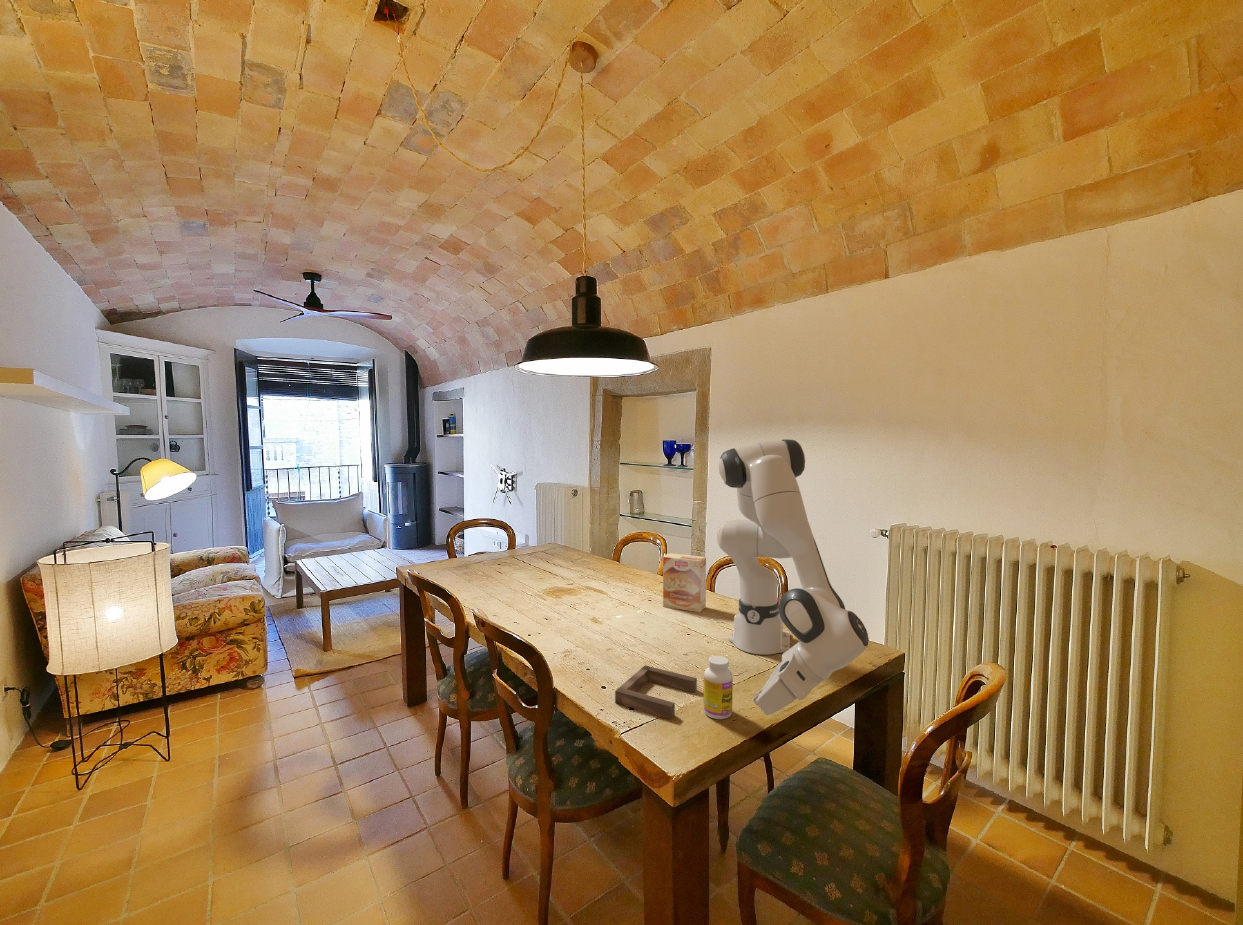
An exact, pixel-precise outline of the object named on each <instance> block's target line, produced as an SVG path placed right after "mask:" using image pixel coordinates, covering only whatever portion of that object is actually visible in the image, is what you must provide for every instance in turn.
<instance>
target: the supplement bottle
mask: <svg viewBox="0 0 1243 925" xmlns="http://www.w3.org/2000/svg"><path fill="white" fill-rule="evenodd" d="M729 663H730V661H729V659H728V658H727V657H725V656H721V655H713V656H709V657H708V664H707V665H708V667H707V668H706V669H705V670H704V672H703V712H704V714H705V715H706V716H708V717H709V718H712V719H714V720H727V719H728V718H730V717H731V715H732V714H733V691H734V690H733V686H734V685H733V684H734V682H733V680H734V678H733V677H734V676H733V673H732V671H731V670H730V669H729V667H730V666H729V665H730V664H729Z"/></svg>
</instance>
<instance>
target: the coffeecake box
mask: <svg viewBox="0 0 1243 925" xmlns="http://www.w3.org/2000/svg"><path fill="white" fill-rule="evenodd" d="M662 558H663V559H662V561H663V564H662V565H663V566H662V568H663V569H662V571H663V572H662V579H663V580H662V582H663V583H662V607H664V608H669V609H675V610H681V611H690V612H695V613H701V612H702V611H703V610H704V609H705V608H706V602H707V601H706V600H707V597H706V594H707V592H706V591H707V557H706V556H700V555H699V556H698V555H692V554H691V555H690V554H682V553H672V552H670V553H667V554H665V555H663V557H662Z"/></svg>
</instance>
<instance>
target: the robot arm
mask: <svg viewBox="0 0 1243 925" xmlns="http://www.w3.org/2000/svg"><path fill="white" fill-rule="evenodd" d="M805 469H806V456H805V452H804V449H803V447H802V445H801V444H800V443H799V441H796V440H794V439H781V440H774V441H773V440H769V441H762V442H757V443H754V444H753V443H752V444H749V445H745V446H740V447H737V448H735V447H734V448H730V449H728V450H725V451H724V452H722V453H721V454H720V458H719V464H718V472H719V474H720V477H721V479H722V481H723V482H724V485H726V486H727V487H729V488H733V489H734V488H735V489H736V493H737V494H736V495H737V507H738V509H739V512H740V513H741V514H742V515H743V517H745V518H746V519H735V520H727V521H724V522H722V523H721V525H720V526H719V527H718V530H717V533H716V541H717V544H718V547H719V548H720V550H722V552H724V553H725V554H726V555H727V556H728V557H729V558H730V559H731V561H732V562H733V564H734V566H735V567H736V570H737V572H738V576H739V586H740V592H739V593H740V598H739V599H738V613H736V614H735V615H734V617H733V630H732V632H733V633H732V634H730V635H729V636H728V641H729V642H730V643H733V645H734V646H735V647H736V648H737V649H739V650H741V651H743V652H745V653H749V654H755V655H766V656H767V655H774V654H779V653H782V655H781V661H780V663H778V664H777V665H776V667H774V670H773V671H772V673H771V674H770V676H769V678H768V680H767V682H766V683H765V685H764V686H763V687H762V688H761V689H760V690H759V691H757V692H756V694H755V696H754V697H753V698H752V700H753V701H752V702H754V704H755V705H756V706H757V707H759V709H760V710H761V711H762V712H763V714H764V715H765V716H770V715H771V716H772V715H773V714H775V713H777V712H778V711H780V710H782V709H784V708H786V707H787V706H789V705H791V704H792V703H793V702H795V701H796V700H798V701H802V700H803V699H805V698H806V697H807V696H808V695H809V694H810V693H811V691H812V690H814V689H815V688H816V687H818V686H819V685H821V683H824V681H826V680H828V679H829V678H830V676H832V674H833V673H834V672H836V671H838V670H842V669H844V668H845V667H846V666H848V665H849V664H850V663H851V664H852V662H854V660H856V659H857V658H858V657H859V656H860V655H862V654H863V653H864V652H865V650H866V649H867V648H868V646H869V641H870V640H869V634H868V631H867V628H866V626H865V625H864V623H863V621H862V620H861V618H859V617H858V615H857V614H856V613H855V612H853V611H851V610H848V609H846V606H845V603H844V601H843V600H842V599H841V597H840V595H839V594H838V593H837V592H836V590H835V589H834V587H833V586H832V584H831V582H830V579H829V577H828V574H827V571H826V568H825V566H824V562H823V559H822V557H821V554H820V550H819V548H818V544H817V543H816V540H815V538H814V535H813V530H812V528H811V526H810V525H811V524H810V522H809V520H808V516H807V515H808V514H807V512H806V507H805V505H804V500H803V497H802V493H801V490H800V487H799V483H798V480H797V477H800V476H801V475H802V474H803V472H804V470H805ZM758 558H766V559H767V558H768V559H769V558H770V559H789V558H790V559H792V560H793V564H794V567H795V570H796V573H797V576H798V580H799V582H800V585H801V588H798V587H797V588H791V589H789V590H788V591H785V593H784V594H783V595H782V596H781V597H780V598H779V597H778V586H779V585H778V578H777V575H776V574H775V573H774V572H773V571H772V570H771V569H769V568H767V567H766V566H764V565H763V564H761V562H760V561H759V560H758ZM784 625H785V627H786V628H787V629H788V630H786V629H784ZM790 632H791V633H792V635H793V636H795V638H796V639H797V640H798V642H796V643H795V644H794V645H793V646H791V633H790Z"/></svg>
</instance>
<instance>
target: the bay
mask: <svg viewBox="0 0 1243 925" xmlns="http://www.w3.org/2000/svg"><path fill="white" fill-rule="evenodd" d="M697 679H698V678H697V677H694V676H690V675H685V674H681V673H677V672H674V671H669V670H666V669H661V668H657V667H654V666H649V665H646V664H645V665H643V666H642V667H641V668H640V669H639V670H638V671H637V672H635V673H634V674H633V675H632V676H630V677H629V678H628V679H627V680H626V681H625V682H624V683H623V684H622V685H620V686H619V687H618V688H617V689H615V690H614V696H615V697H614V698H615V699H614V702H615V704H618V705H622V706H626V707H628V708H632V709H634V710H639V711H642V712H645V713H649V714H652V715H655V716H658V717H662V718H664V719H668V720H672V719H673V718H674V717H675V715H676V714H675V712H676V711H675V708H676V704H675V702H673V701H670V700H666V699H662V698H658V697H655V696H651V695H647V694H646V693H645V694H644V693H641V692H638V691H639V690H640V689H641V688H642V687H644V685H645V684H646V683H648V682H651V683H655V684H659V685H663V686H667V687H671V688H675V689H678V690H683V691H686V692H688V693H689V692H690V693H695V692H696V691H697V689H698V688H697V687H698V680H697Z"/></svg>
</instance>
